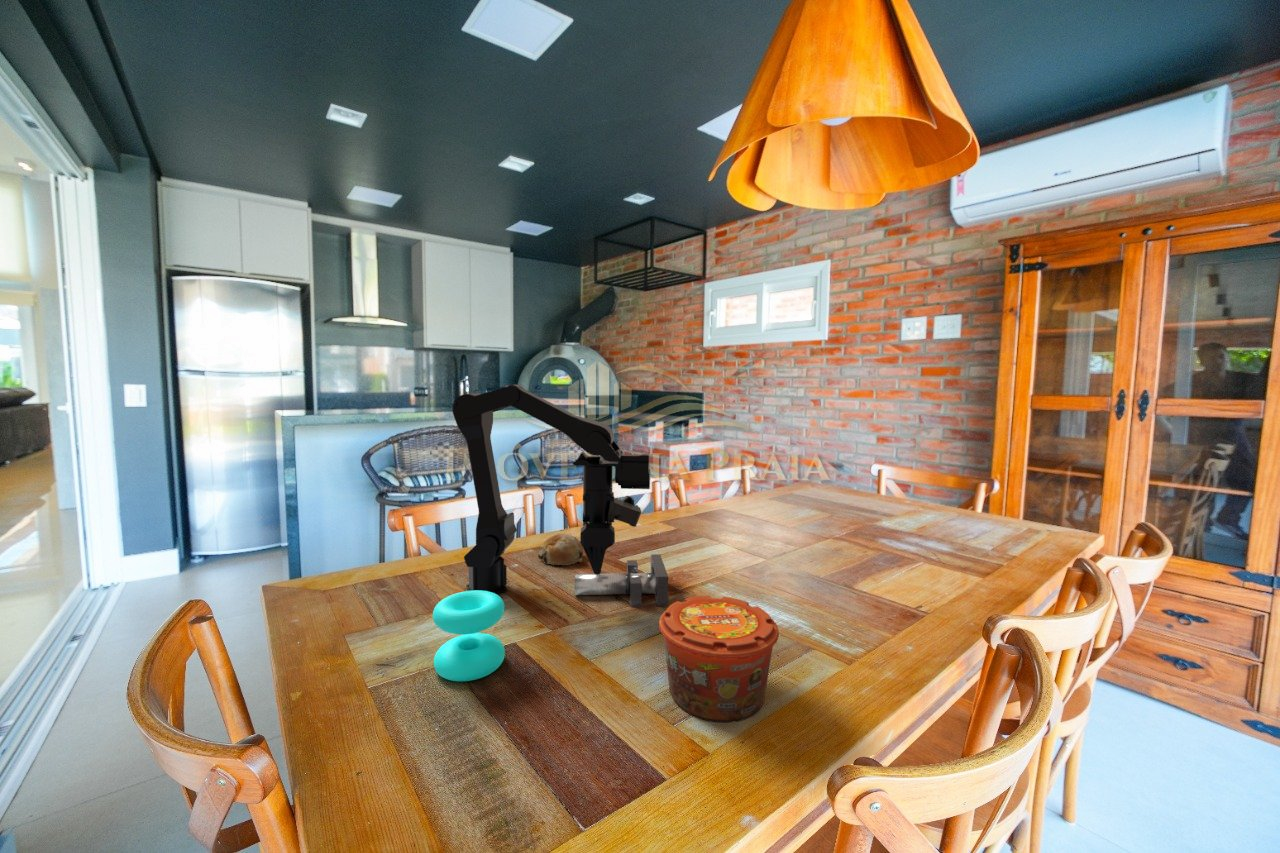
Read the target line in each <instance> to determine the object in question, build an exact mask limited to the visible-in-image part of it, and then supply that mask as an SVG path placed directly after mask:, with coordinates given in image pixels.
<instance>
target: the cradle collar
mask: <svg viewBox="0 0 1280 853" xmlns="http://www.w3.org/2000/svg"><path fill="white" fill-rule="evenodd" d="M637 561H638V560H637V559H635V560H634V559H633V560H632V559H631V560H628V559H627V560H626V570H627V571H626V573H639V572H638V568H639V567H638V566H639V565H638V562H637ZM642 595H643V594H642V583H641V578H640V577H630V594H629V603H630V607H631V608H632V607H634V608H635V607H642Z"/></svg>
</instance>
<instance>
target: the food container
mask: <svg viewBox="0 0 1280 853" xmlns="http://www.w3.org/2000/svg"><path fill="white" fill-rule="evenodd" d="M658 630H659V632H661V634H662V635H663V643H664V649H665V659H666V668H667V678H668V688H669V689H668V690H669V693H670V696H671V699H673V701H674V702H675V704H676V705H677V706H678V707H680V708H681V709H682V710H683V711H685V712H686V713H688V714H690V715H691V714H692V716H693V715H694V717H697V718H698V719H701V718H702V720H705V719H706V720H705V721H709V720H711V721H710V722H716V721H719V722H718V723H733V721H735V722H740V721H744V720H746V718H747V719H748V718H750V717H752V716H753V715H755V714H756V713H758V712H759V711H760V709H761V708H762V706H763V705H764V702H765V699H766V698H765V697H766V690H767V684H768V678H769V673H770V666H771V658H772V653H773V649H774V648H773V647H774V646H775V645H776V643H777V642H778V639H779V634H780V632H779V626H778V624H777V622H775V621H774V619H772V617H771V616H770V614H768V612H766V611H765V610H764V609H763V608H761V607H759V606H757V605H756V606H751V605H750V603H749V602H748V601H746V600H742V599H738V598H735V597H730V596H722V597H721V598H716V597H711V595H695V596H691V597H686V598H685V599H684V601H679V600H677V601H675V602H673V603H672V604H670V605H669V606H667V608H666V610H665V611H663V612H662V614H661V615H660V617H659V621H658ZM743 719H744V720H743Z"/></svg>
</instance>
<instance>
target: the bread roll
mask: <svg viewBox="0 0 1280 853" xmlns="http://www.w3.org/2000/svg"><path fill="white" fill-rule="evenodd" d="M537 555H538V556H537V557H538V559H539V560H541V562H542V561H543V562H545V563H547V564H546V565H548V564H551V565H550V566H554V565H558V566H557V567H560V566H559V565H562V566H571V564H573V565H576V564H577V562H580V563H581V562H582V561H583V556H584V549H583V547H582V545H581V543H580V540H579V538H577V536H575V535H572V534H571V533H557V534H555V535H552V536H550V537H549V538H547V539H546V540H545V541H544V542H543V543H542V545H541V546H540V547H539V552H538V554H537ZM543 562H542V563H543ZM545 563H544V564H545ZM575 563H576V564H575Z"/></svg>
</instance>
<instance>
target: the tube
mask: <svg viewBox="0 0 1280 853" xmlns="http://www.w3.org/2000/svg"><path fill="white" fill-rule="evenodd" d="M630 577H640V578H641V583H642V594H641V595H646V594H647V595H651V594H652V595H656V576H655V573H651V572H638V573H627V572H619V573H617V572H616V573H615V572H614V573H610V572H609V573H600V574H594V573H575V574H574V596H590V595H591V596H595V595H597V596H599V595H600V596H601V595H603V596H604V595H606V596H607V595H630Z"/></svg>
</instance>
